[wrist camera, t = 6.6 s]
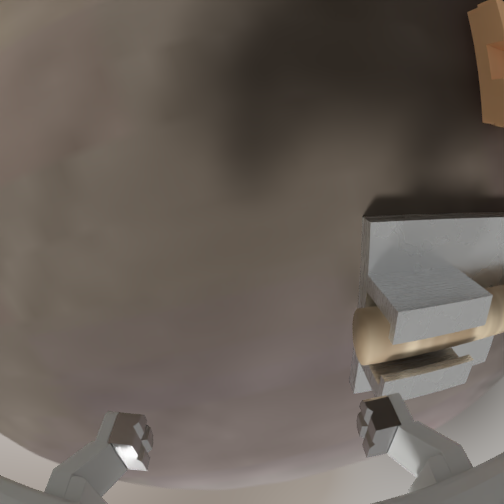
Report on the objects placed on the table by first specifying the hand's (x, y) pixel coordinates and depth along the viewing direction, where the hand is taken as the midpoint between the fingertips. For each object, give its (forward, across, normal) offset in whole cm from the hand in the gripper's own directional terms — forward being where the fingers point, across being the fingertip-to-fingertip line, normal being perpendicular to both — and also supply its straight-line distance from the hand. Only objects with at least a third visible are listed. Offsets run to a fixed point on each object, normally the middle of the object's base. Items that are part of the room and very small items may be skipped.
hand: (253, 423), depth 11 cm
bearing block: (+10, -10, +1) cm, 14 cm away
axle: (+7, -13, +1) cm, 15 cm away
